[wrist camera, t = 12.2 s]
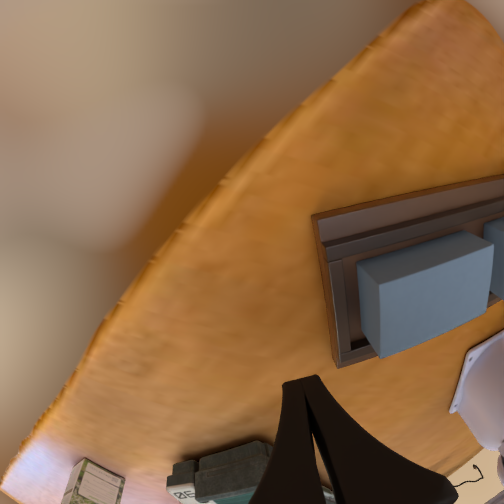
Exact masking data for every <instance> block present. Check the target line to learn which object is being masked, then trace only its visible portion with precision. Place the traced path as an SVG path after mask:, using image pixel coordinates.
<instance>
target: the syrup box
mask: <svg viewBox="0 0 504 504" xmlns="http://www.w3.org/2000/svg"><path fill="white" fill-rule="evenodd" d="M124 484H125V479H124V478H122V477H119V476H117V475H115V474H113V473H111V472H109V471H107V470H106V469H104V468H102V467H100V466H98V465H96V464H94V463H92V462H91V461H89V460H87V459H85V458H84V459H83V460H82V461H80V462H79V463H78V464H77V465H76V466H74V467H73V469H72V472H71V475H70V478H69V481H68V484H67V487H66V490H65V493H64V496H63V499H62V502H61V504H120V502H121V497H122V493H123V488H124Z"/></svg>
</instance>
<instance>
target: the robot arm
mask: <svg viewBox="0 0 504 504" xmlns="http://www.w3.org/2000/svg"><path fill="white" fill-rule="evenodd" d="M282 390H283V397H282V408H281V415H280V421H279V427H278V431H277V435H276V439H275V442H274V446H273V449H272V452H271V455H270V458H269V461H268V464H267V466H266V469H265V471H264V473H263V476H262V478H261V480H260V482H259V484H258V486H257V488H256V490H255V492H254V494H253V496H252V497H251V499H250V501H249V503H248V504H326V500H325V496H324V492H323V488H322V485H321V481H320V477H319V473H318V469H317V465H316V458H315V450H314V443H313V436H314V438H315V441H316V444H317V447H318V449H319V452H320V455H321V457H322V460H323V463H324V465H325V468H326V471H327V473H328V476H329V479H330V482H331V486H332V490H333V494H334V498H335V502H336V504H454V502H455V501H456V500H457V499H458V497H459V496H458V493H457V491H456V489H455V488H454V486H453V485H452V484H451V482H450V481H449V480H448V479H447V478H446V477H445V476H443V475H441V474H438V473H436V472H433V471H431V470H428V469H426V468H424V467H422V466H419V465H417V464H415V463H413V462H412V461H410V460H408V459H406V458H404V457H403V456H401V455H399V454H398V453H396V452H394V451H393V450H391V449H389V448H388V447H387V446H385V445H384V444H382V443H381V442H380V441H378V440H377V439H376V438H374V437H373V436H372V435H370V434H369V433H368V432H367V431H366V430H365V429H363V428H362V427H361V426H360V425H359V424H358V423H357V422H356V421H355V420H354V419H353V418H352V417H351V416H350V415H349V414H348V413H347V412H346V411H345V410H344V409H343V408H342V407H341V406H340V405H339V403H338V402H337V401H336V400H335V399H334V397H333V396H332V395H331V394H330V392H329V391H328V390H327V388H326V387H325V385H324V384H323V382H322V381H321V379H320V377H319V376H318V375H316V374H315V375H312V376H308V377H304V378H300V379H296V380H292V381H288V382H284V383H283V385H282ZM456 411H458V413H459V414H460V416H461V417H462V419H463V420H464V422H465V423H466V424H467V426H468V427H469V429H470V430H471V432H472V433H473V435H474V436H475V438H476V439H477V441H478V442H479V444H480V445H481V446H483V447H484V448H486V449H488V450H492V451H498V450H499V452H500V453H501V454H500V456H499V458H498V466H497V472H498V476H499V479H500V481H501V483H502V484H503V486H504V330H503V331H501V332H499V333H498V334H496V335H494V336H493V337H491V338H490V339H488V340H486V341H484V342H483V343H481V344H479V345H477V346H476V347H474V348H472V349H470V350H469V351H468V352H467V354H466V358H465V362H464V365H463V369H462V372H461V376H460V379H459V383H458V386H457V389H456V392H455V395H454V398H453V401H452V404H451V407H450V410H449V412H450V414H452V413H454V412H456ZM312 433H313V436H312ZM485 504H504V490H503V491H501V492H500V493H499V494H497V495H496V496H495V497H493V498H492V499H490V500H489V501H488V502H486V503H485Z"/></svg>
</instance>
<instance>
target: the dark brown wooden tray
mask: <svg viewBox="0 0 504 504" xmlns="http://www.w3.org/2000/svg"><path fill="white" fill-rule="evenodd" d="M311 217H312V222H313V227H314V233H315V239H316V244H317V250H318V256H319V262H320V268H321V274H322V281H323V287H324V294H325V301H326V308H327V315H328V323H329V331H330V339H331V347H332V356H333V360H334V362H335V365H336V367H337V369H339V368H342V367H346V366H349V365H352V364H355V363H358V362H361V361H364V360H367V359H370V358H373V357H376V356H378V355H377V353H376V352H375V350H374V349H373V347H372V345H371V344H370V342H369V341H368V339H367V338H366V336H365V335H364V333H363V332H362V330H361V315H360V300H359V288H358V277H357V267H356V262H357V261H361V260H365V259H368V258H372V257H375V256H379V255H382V254H386V253H389V252H393V251H396V250H400V249H403V248H406V247H410V246H413V245H417V244H420V243H423V242H427V241H430V240H433V239H436V238H440V237H443V236H446V235H449V234H453V233H456V232H459V231H462V230H465V231H467V232H469V233H471V234H474V235H476V236H478V237H480V238H482V239H483V232H484V223H486V222H489V221H492V220H495V219H498V218H501V217H504V174H502V175H497V176H491V177H486V178H481V179H476V180H471V181H466V182H461V183H456V184H451V185H446V186H441V187H436V188H431V189H427V190H422V191H417V192H412V193H408V194H403V195H398V196H394V197H389V198H385V199H380V200H376V201H371V202H367V203H362V204H358V205H353V206H349V207H345V208H340V209H336V210H331V211H327V212H323V213H319V214H314V215H312V216H311ZM501 300H502V299H501V298H499V297H498V296H497V295H495V294H494V293H492V292H491V291H490V290H489V296H488V302H487V308H488V307H490V306H492V305H493V304H495V303H497V302H499V301H501Z"/></svg>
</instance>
